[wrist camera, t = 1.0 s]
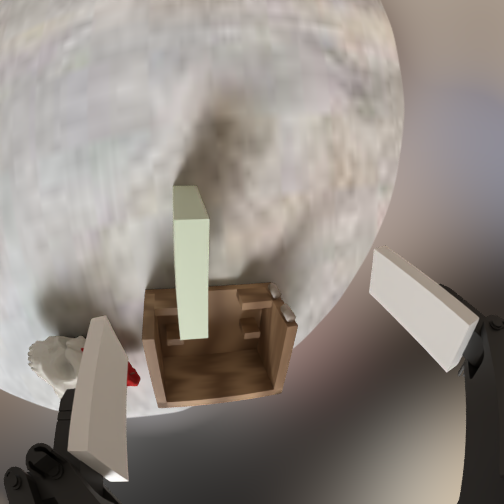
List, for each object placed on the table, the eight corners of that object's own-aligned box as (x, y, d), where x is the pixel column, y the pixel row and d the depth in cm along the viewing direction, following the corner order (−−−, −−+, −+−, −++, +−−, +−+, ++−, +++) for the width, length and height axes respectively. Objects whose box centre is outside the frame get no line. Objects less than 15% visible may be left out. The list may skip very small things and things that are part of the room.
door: (195, 276, 34) (208, 337, 25) (174, 277, 34) (180, 340, 24) (196, 185, 30) (209, 219, 20) (172, 185, 29) (174, 219, 19)
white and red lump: (33, 326, 30) (129, 318, 36) (57, 379, 35) (141, 373, 40) (20, 372, 23) (134, 366, 28) (53, 423, 27) (149, 418, 33)
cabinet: (156, 358, 38) (158, 408, 30) (144, 281, 33) (140, 330, 25) (261, 348, 43) (281, 393, 35) (272, 274, 37) (299, 316, 29)
